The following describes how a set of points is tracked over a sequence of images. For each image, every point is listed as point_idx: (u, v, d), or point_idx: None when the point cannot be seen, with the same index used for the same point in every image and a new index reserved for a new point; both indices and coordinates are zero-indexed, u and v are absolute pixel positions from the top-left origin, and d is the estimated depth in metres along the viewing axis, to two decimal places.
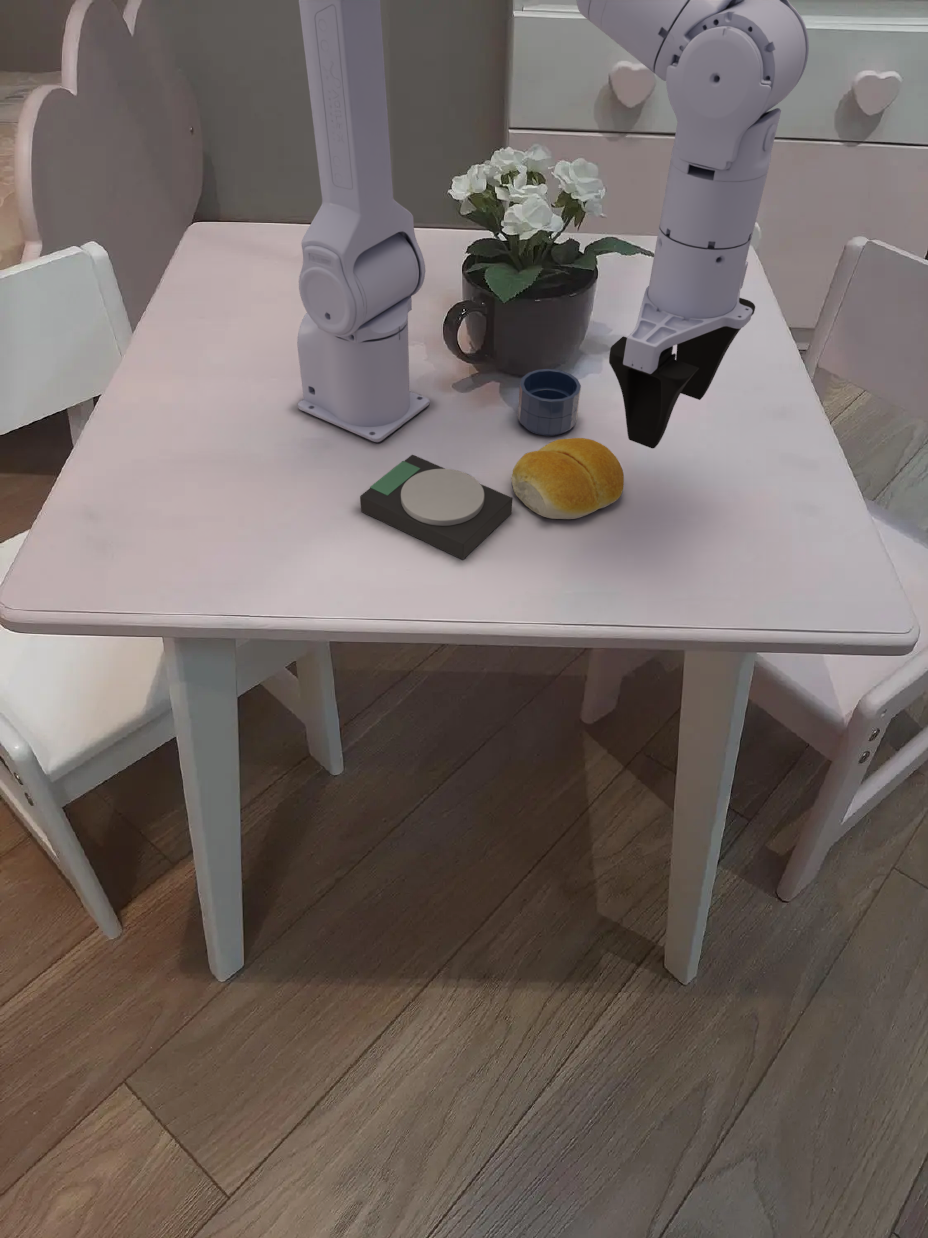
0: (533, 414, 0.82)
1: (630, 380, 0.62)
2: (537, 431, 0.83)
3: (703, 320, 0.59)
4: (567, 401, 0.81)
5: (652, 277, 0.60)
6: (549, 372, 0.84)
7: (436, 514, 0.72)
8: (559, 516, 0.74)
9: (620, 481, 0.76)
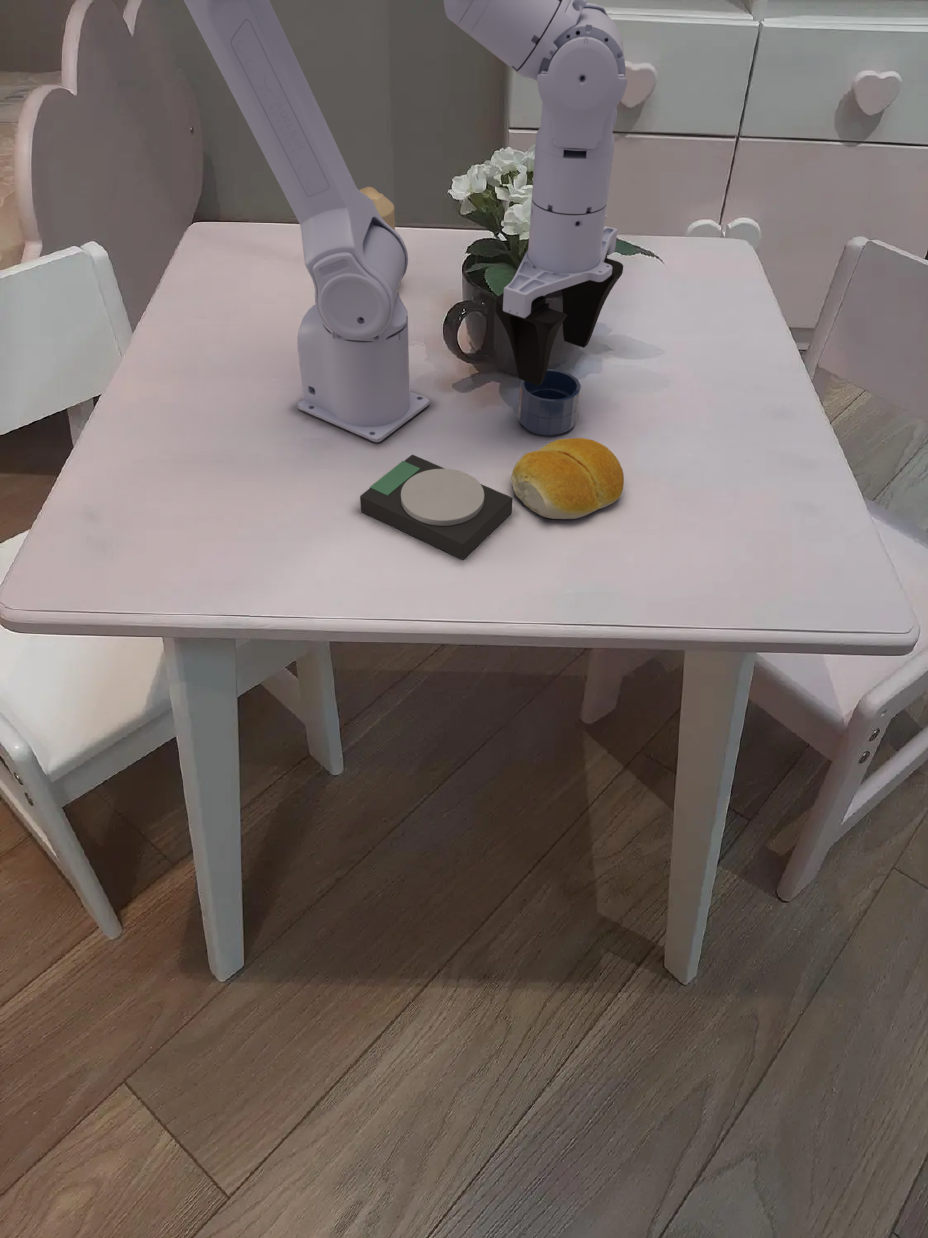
0: (533, 414, 0.82)
1: (514, 326, 0.74)
2: (537, 431, 0.83)
3: (569, 274, 0.72)
4: (567, 401, 0.81)
5: (529, 240, 0.73)
6: (549, 372, 0.84)
7: (436, 514, 0.72)
8: (559, 516, 0.74)
9: (620, 481, 0.76)
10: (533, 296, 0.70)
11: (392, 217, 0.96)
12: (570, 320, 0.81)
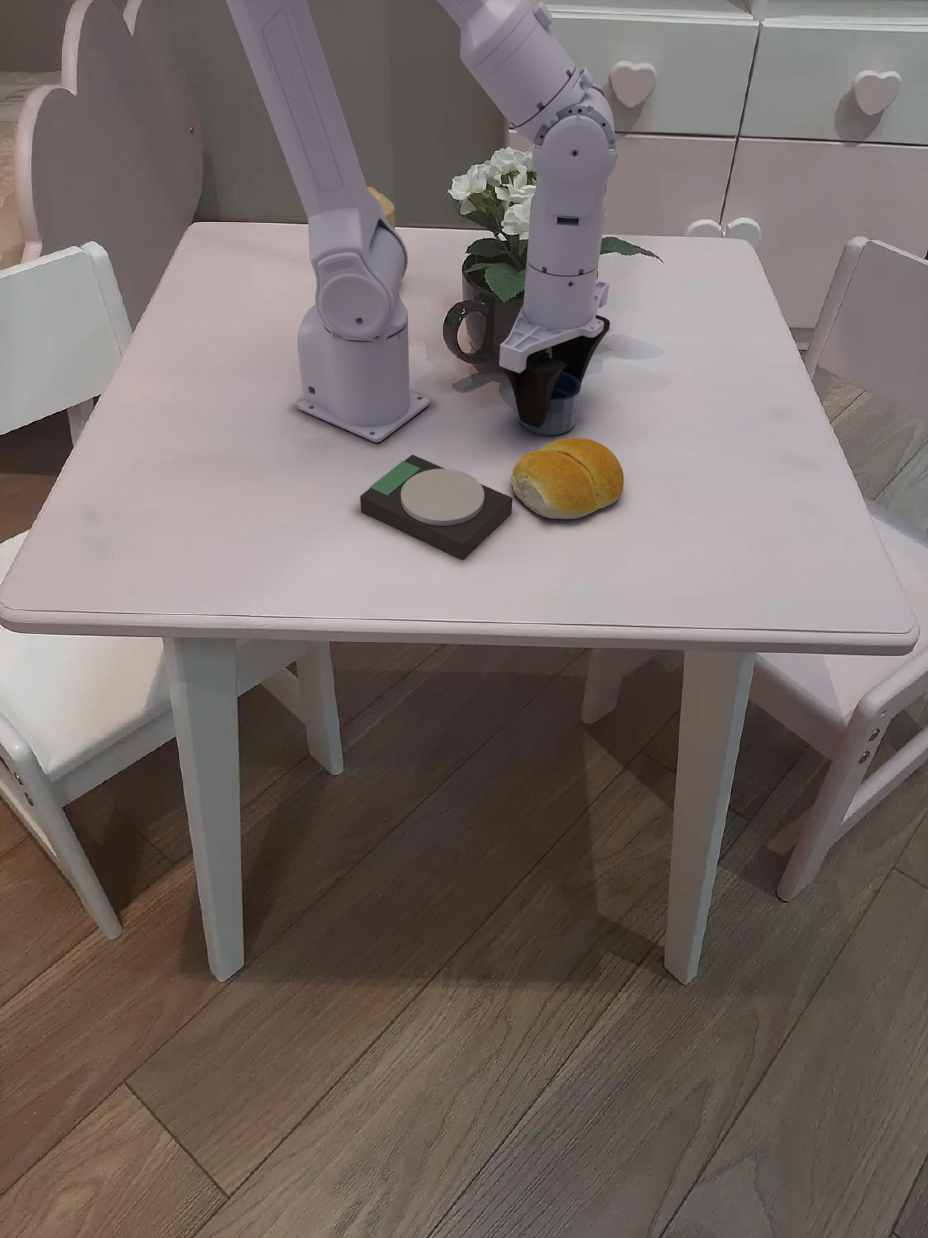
0: None
1: (515, 373, 0.78)
2: (537, 430, 0.83)
3: (563, 331, 0.75)
4: (567, 401, 0.81)
5: (524, 297, 0.76)
6: None
7: (436, 514, 0.72)
8: (559, 516, 0.74)
9: (620, 481, 0.76)
10: (528, 352, 0.74)
11: (392, 217, 0.96)
12: None
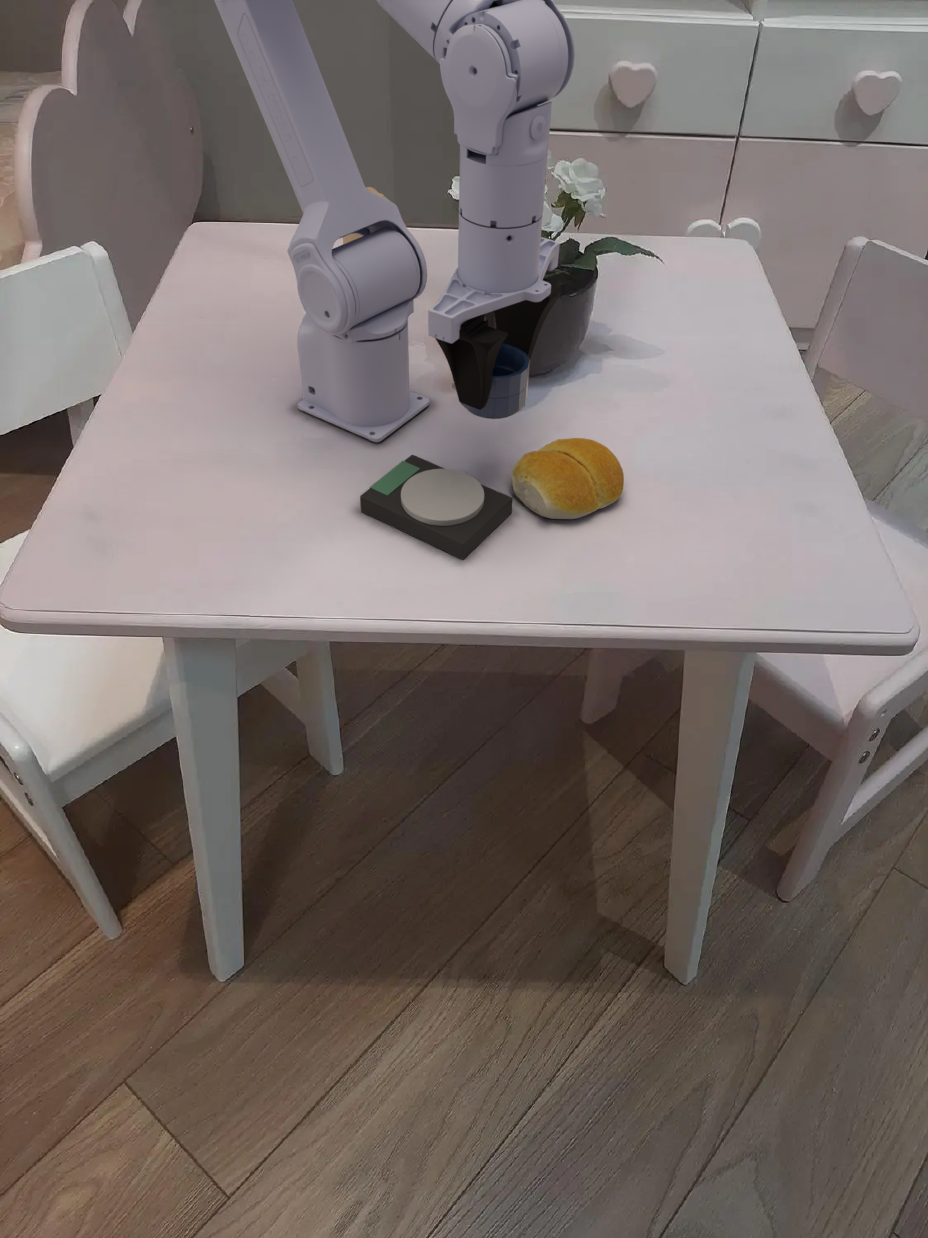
0: None
1: (450, 346, 0.68)
2: (480, 413, 0.72)
3: (502, 294, 0.65)
4: (513, 378, 0.70)
5: (458, 255, 0.65)
6: None
7: (436, 514, 0.72)
8: (559, 516, 0.74)
9: (620, 481, 0.76)
10: (461, 319, 0.63)
11: None
12: None
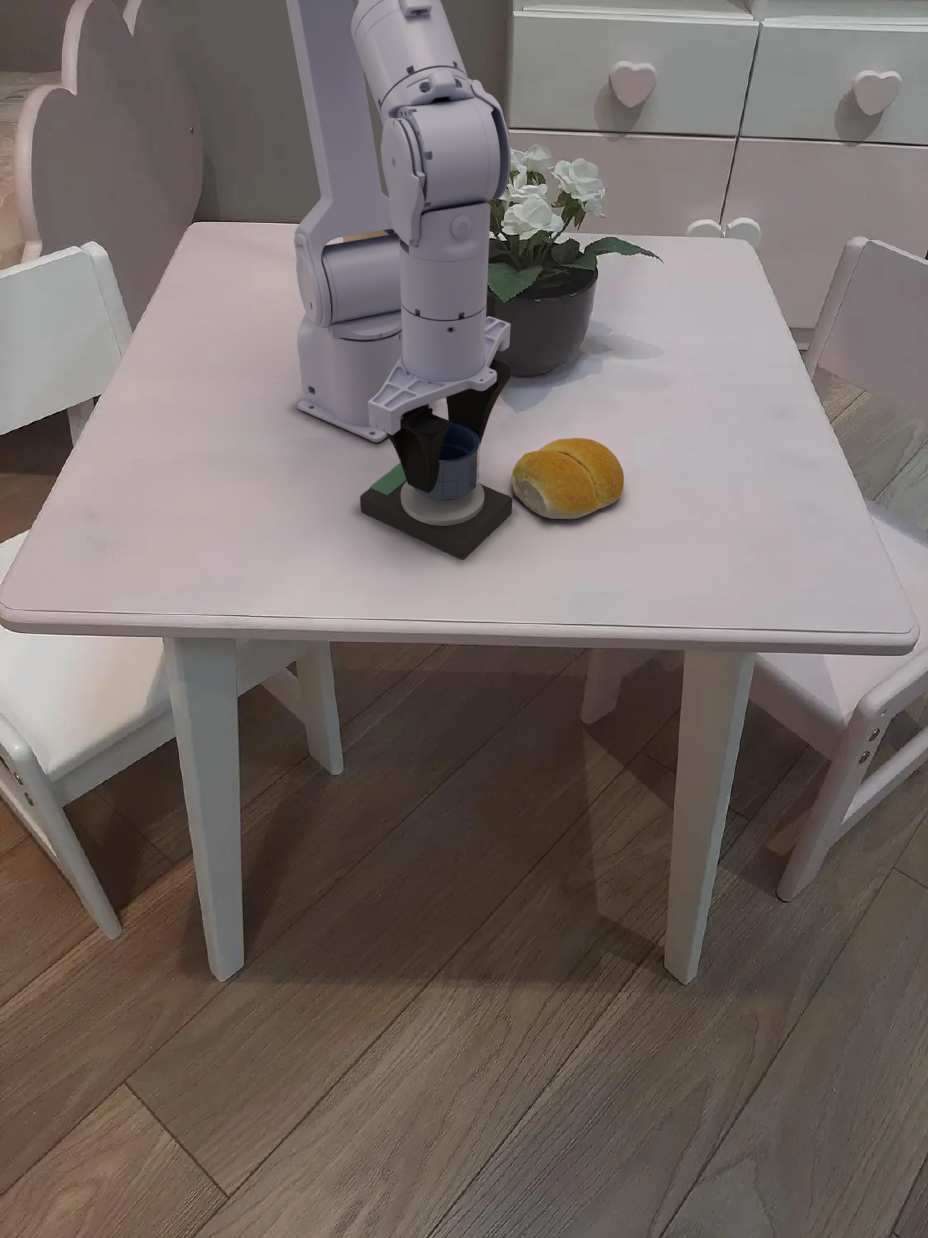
0: None
1: (395, 431, 0.66)
2: (429, 495, 0.71)
3: (446, 384, 0.63)
4: (462, 462, 0.69)
5: (402, 342, 0.64)
6: None
7: (436, 514, 0.72)
8: (559, 516, 0.74)
9: (620, 481, 0.76)
10: (401, 411, 0.62)
11: None
12: None
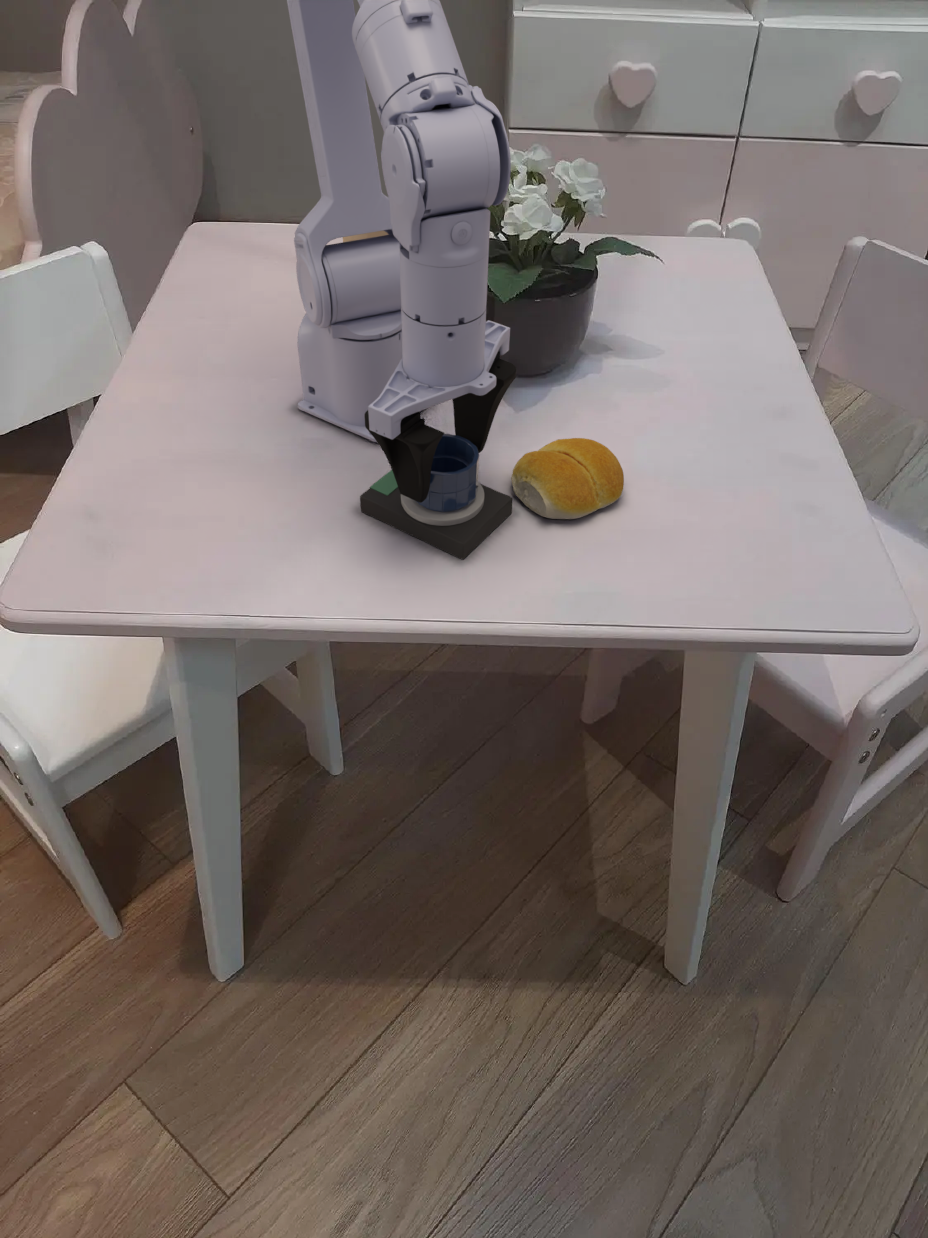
0: None
1: (387, 441, 0.66)
2: (429, 506, 0.72)
3: (445, 388, 0.63)
4: (461, 474, 0.70)
5: (402, 347, 0.64)
6: (445, 438, 0.73)
7: (436, 514, 0.72)
8: (559, 516, 0.74)
9: (620, 481, 0.76)
10: (401, 416, 0.62)
11: None
12: (462, 424, 0.73)
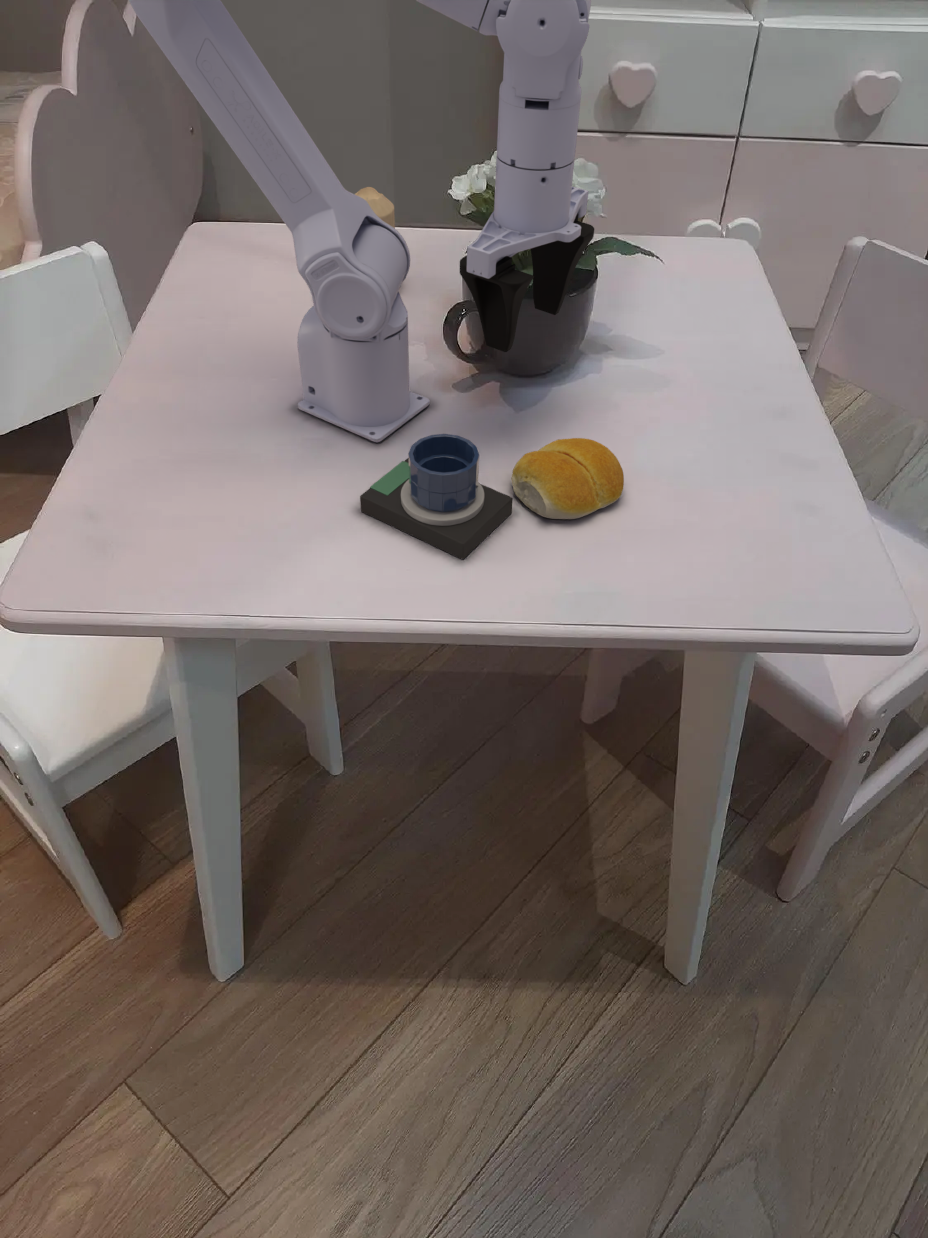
0: (423, 488, 0.71)
1: (479, 289, 0.72)
2: (429, 506, 0.72)
3: (536, 234, 0.69)
4: (461, 474, 0.70)
5: (495, 198, 0.70)
6: (445, 438, 0.73)
7: (436, 514, 0.72)
8: (559, 516, 0.74)
9: (620, 481, 0.76)
10: (497, 255, 0.68)
11: (392, 217, 0.96)
12: (540, 286, 0.79)
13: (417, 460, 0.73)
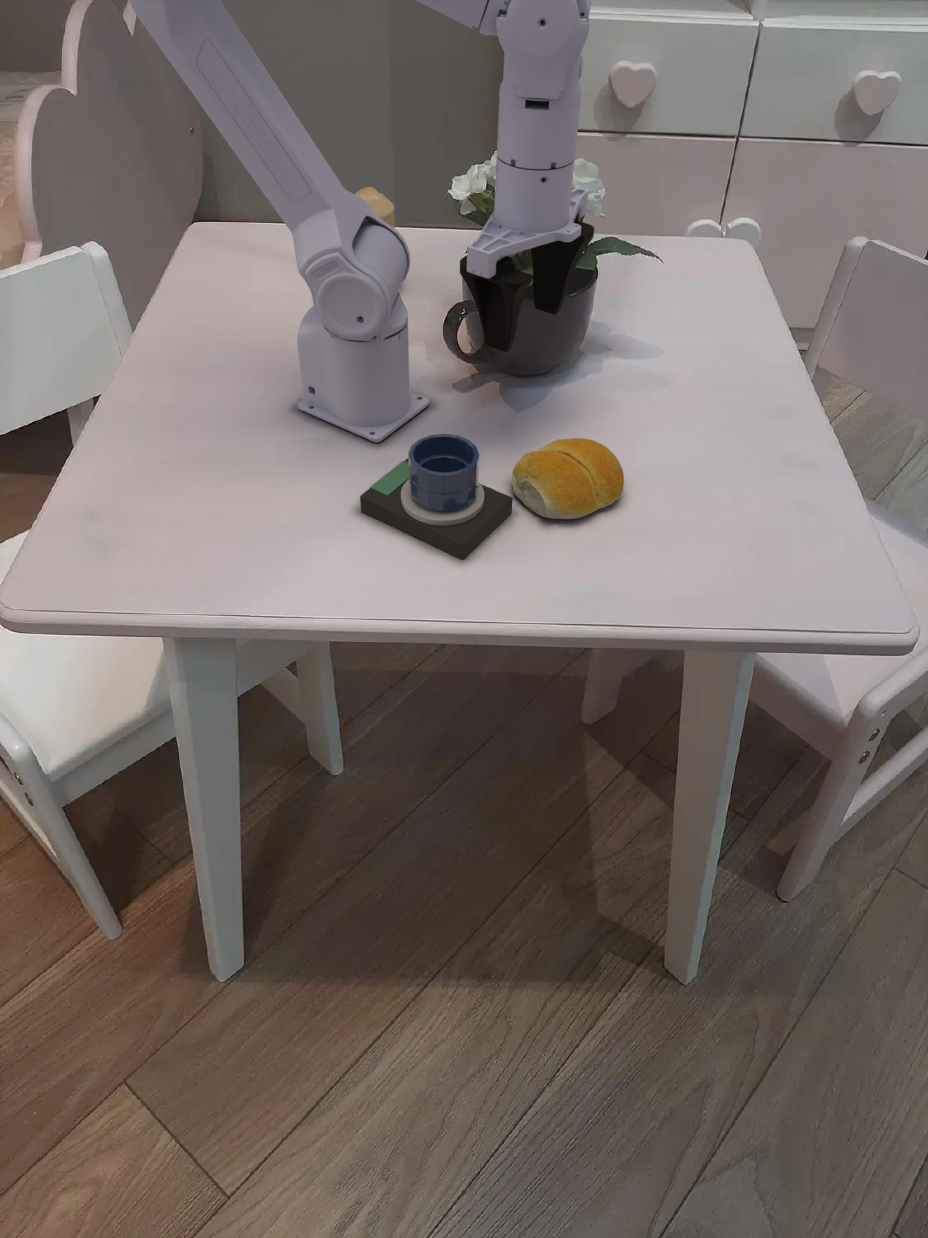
0: (423, 488, 0.71)
1: (479, 289, 0.72)
2: (429, 506, 0.72)
3: (536, 234, 0.69)
4: (461, 474, 0.70)
5: (495, 198, 0.70)
6: (445, 438, 0.73)
7: (436, 514, 0.72)
8: (560, 516, 0.74)
9: (620, 481, 0.76)
10: (498, 255, 0.68)
11: (392, 217, 0.96)
12: (540, 286, 0.79)
13: (417, 460, 0.73)
